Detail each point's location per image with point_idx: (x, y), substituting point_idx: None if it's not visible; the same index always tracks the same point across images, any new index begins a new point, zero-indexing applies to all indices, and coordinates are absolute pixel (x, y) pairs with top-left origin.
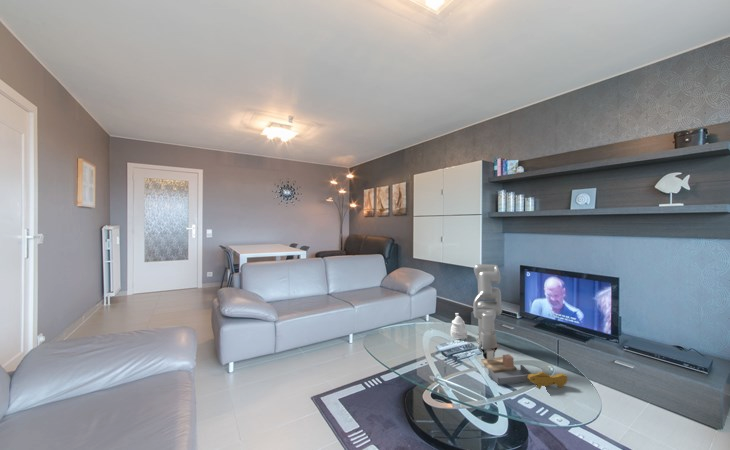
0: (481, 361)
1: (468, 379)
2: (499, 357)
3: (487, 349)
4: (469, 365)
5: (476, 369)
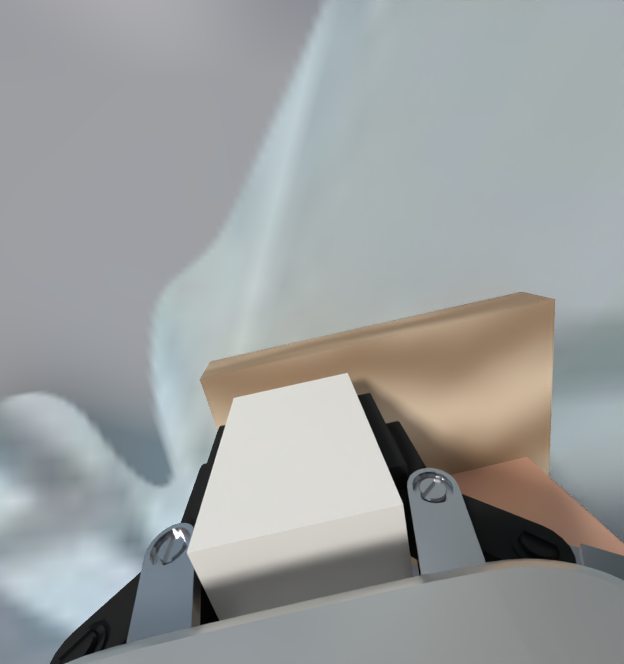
0: (209, 367)
1: (27, 658)
2: (482, 324)
3: (285, 599)
4: (40, 447)
5: (122, 515)
